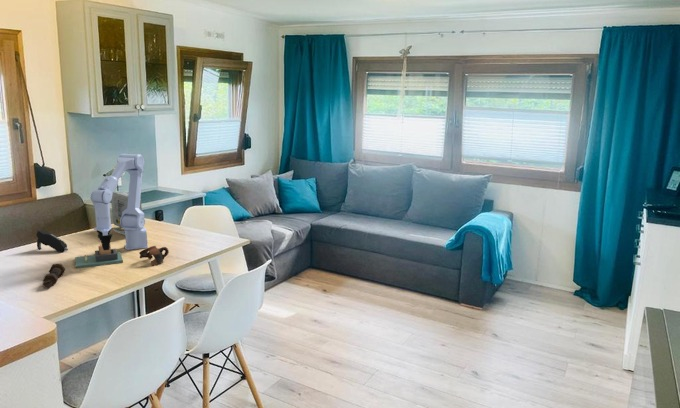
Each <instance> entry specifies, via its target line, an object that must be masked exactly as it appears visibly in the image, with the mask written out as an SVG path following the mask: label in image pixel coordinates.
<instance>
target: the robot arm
mask: <svg viewBox="0 0 680 408" xmlns="http://www.w3.org/2000/svg"><path fill="white" fill-rule="evenodd" d="M116 159H117V161H116V162H117V164H116V166H115V167H114V169H113V170H112V173H111V175H110V176H106V177H105V178H104V180H103V181H102V182H101V184H100V185H99V186H98V188H96V189H94V190H92V192H91V193H90V200H91V202H92V205H93V207H94V214H95V224H96V225H95V227H93V231H96V232H97V233H98V234H97V237H98V239H99V241H100V244H102V247H103V250H109V247H111V240H112V238H113V233H110V232H111V230H113V227H112V221H111V220H112V219H111V209H110V208H111V206H110V203H111V200H112V195H113V192H114V191H115V190H116V188H117V187H118V186H119V181H118V180H120V178H121V177H122V176H123V175H124V173H126V172H127V173H128V174H129V184H128V187H129V188H128V205H127V209H125V210H124V211H123V212H122V217H121V219H120V224H121V226H122V227H123V228H122V229H123V230H125V235H124V236H125V237H124V238H125V244H124V248H125V250H127V251H129V250H139V249H147V248H149V247H148V233H147V228H146V227H145V225H146V219H145V212H143V210H142V211H141V210H140V209H139V207H140V198H141V195H142V193H141V192H142V184H143V183H142V182H143V173H144V169H145V159H144V157H143V155H142V154H140V153H137V154H134V153H133V154H132V153H131V154H129V153H120V154H119V156H118V157H117V158H116ZM130 214H135V215H130ZM136 215H137V216H136Z"/></svg>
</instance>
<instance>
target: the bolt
mask: <svg viewBox="0 0 680 408" xmlns="http://www.w3.org/2000/svg"><path fill="white" fill-rule="evenodd" d="M65 272H66V267H65V266H64V265H63V264H62V263H52V265H50V268H49V270H48V273H46V275H45V276H44V277H43V280H42V285H43V287H44V288H47V289H48V288H52V286H55V285H56V283H57V282H58V280H59V277H63V275H64V274H65Z"/></svg>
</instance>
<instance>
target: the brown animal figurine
mask: <svg viewBox="0 0 680 408" xmlns="http://www.w3.org/2000/svg"><path fill="white" fill-rule="evenodd" d="M163 251H164V254H163ZM169 251H170V250H169V248H167V247H166V246H162V247H159V248H158V247H157V246H156V245H152V246H149V247H148V248H143V250H141V251H140V252H138V253H139V259H143V258H147V259H148V260H151V259H152V260H151V261H150V263H151V265H152V266H156V265H158V264H162V263H164V259H165V258H166V257H167V256H168V255H169ZM153 257H154V259H153Z"/></svg>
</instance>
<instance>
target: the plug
mask: <svg viewBox="0 0 680 408" xmlns="http://www.w3.org/2000/svg"><path fill="white" fill-rule="evenodd" d="M97 247H98V250H99V255H104V254H111V249H112V248H111V246H110V247H109V250H103V247H102V243H99V245H98V246H97Z"/></svg>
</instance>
